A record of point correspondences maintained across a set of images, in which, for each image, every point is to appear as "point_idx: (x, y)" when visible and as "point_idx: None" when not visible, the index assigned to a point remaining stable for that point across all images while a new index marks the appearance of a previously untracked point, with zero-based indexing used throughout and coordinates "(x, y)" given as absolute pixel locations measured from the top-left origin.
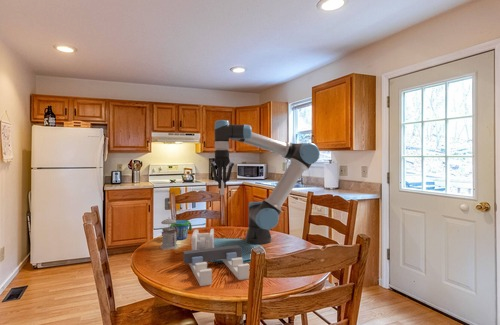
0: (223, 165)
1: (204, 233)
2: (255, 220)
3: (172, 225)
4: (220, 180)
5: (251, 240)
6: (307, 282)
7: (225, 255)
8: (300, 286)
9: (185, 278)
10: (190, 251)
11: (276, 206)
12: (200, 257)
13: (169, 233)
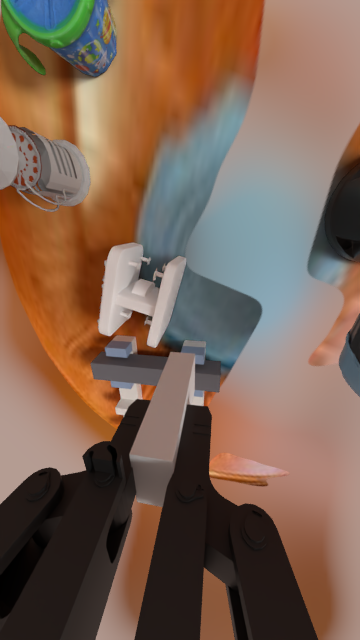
0: None
1: (137, 306)
2: (347, 344)
3: (13, 35)
4: (112, 534)
5: (333, 242)
6: (276, 472)
7: None
8: (257, 474)
9: (110, 390)
10: (104, 370)
11: None
12: (126, 387)
13: (32, 133)
